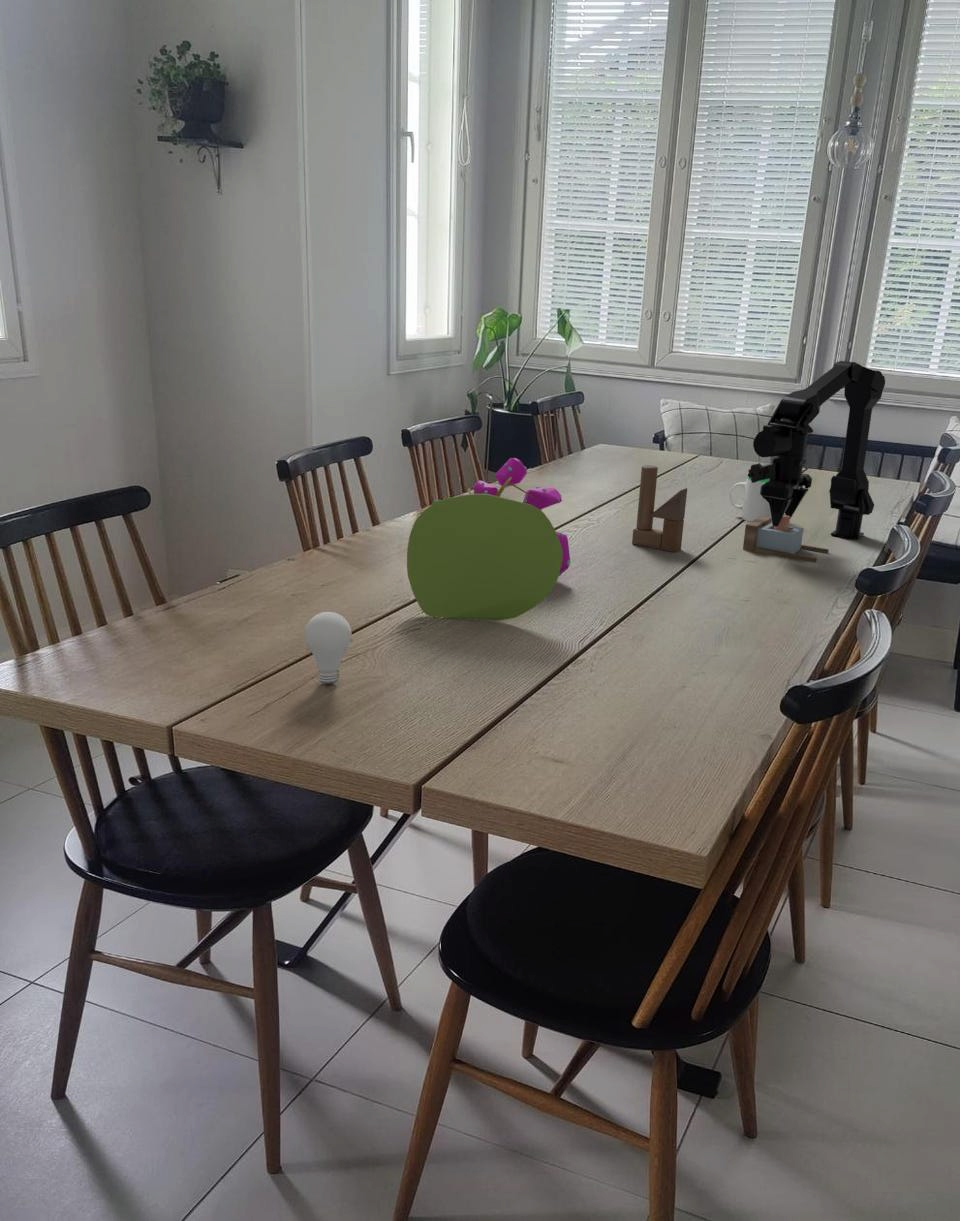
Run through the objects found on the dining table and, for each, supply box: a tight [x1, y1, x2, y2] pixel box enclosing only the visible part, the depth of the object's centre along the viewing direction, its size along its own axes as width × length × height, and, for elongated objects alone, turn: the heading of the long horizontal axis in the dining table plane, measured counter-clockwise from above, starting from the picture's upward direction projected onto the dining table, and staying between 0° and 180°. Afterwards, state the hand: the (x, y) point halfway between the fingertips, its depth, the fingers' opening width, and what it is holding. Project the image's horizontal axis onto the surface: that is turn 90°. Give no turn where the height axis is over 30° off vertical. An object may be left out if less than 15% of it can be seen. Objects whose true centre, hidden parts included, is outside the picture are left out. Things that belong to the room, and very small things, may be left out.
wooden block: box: [631, 464, 688, 553], centre depth 226 cm, size 4×11×18 cm, turn 56°
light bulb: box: [304, 611, 352, 685], centre depth 145 cm, size 7×7×11 cm
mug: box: [729, 476, 772, 523], centre depth 259 cm, size 12×8×10 cm, turn 64°
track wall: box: [742, 516, 830, 563], centre depth 228 cm, size 11×16×6 cm
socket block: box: [756, 522, 805, 554], centre depth 229 cm, size 8×8×5 cm
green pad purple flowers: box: [406, 457, 571, 621], centre depth 190 cm, size 30×28×35 cm
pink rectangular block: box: [774, 514, 791, 532], centre depth 228 cm, size 3×3×7 cm
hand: (781, 522), depth 228 cm, fingers open, 9 cm apart
